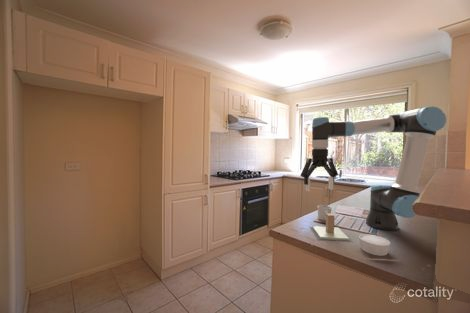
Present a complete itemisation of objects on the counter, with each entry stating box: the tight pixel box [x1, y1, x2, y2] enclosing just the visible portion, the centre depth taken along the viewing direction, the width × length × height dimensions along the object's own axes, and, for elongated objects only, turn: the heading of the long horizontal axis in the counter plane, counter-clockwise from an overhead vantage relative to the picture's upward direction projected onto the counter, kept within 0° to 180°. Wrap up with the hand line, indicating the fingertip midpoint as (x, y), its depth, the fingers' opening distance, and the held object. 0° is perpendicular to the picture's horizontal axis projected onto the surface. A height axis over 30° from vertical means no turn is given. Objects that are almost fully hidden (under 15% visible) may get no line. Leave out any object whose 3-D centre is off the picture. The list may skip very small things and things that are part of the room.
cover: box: [312, 213, 350, 240], centre depth 106 cm, size 13×13×10 cm
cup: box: [316, 204, 333, 222], centre depth 126 cm, size 11×8×8 cm
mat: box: [309, 226, 354, 243], centre depth 106 cm, size 16×16×1 cm
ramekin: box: [358, 233, 391, 257], centre depth 90 cm, size 11×11×5 cm
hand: (319, 190), depth 107 cm, fingers open, 13 cm apart
